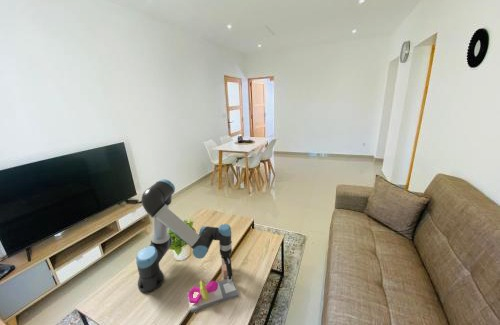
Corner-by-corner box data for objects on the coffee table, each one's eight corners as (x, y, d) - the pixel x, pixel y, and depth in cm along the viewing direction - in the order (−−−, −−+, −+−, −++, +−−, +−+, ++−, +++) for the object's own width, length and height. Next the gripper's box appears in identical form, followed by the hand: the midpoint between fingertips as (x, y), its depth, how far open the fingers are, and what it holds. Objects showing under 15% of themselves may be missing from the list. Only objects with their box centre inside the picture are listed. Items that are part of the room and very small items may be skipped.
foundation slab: (190, 313, 117) (189, 311, 117) (187, 293, 128) (187, 291, 128) (238, 296, 127) (238, 294, 127) (232, 278, 139) (232, 277, 138)
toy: (189, 290, 129) (184, 286, 121) (217, 277, 132) (213, 272, 125) (193, 309, 122) (187, 306, 115) (222, 294, 126) (218, 290, 118)
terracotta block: (223, 279, 138) (223, 271, 136) (221, 273, 142) (221, 265, 140) (231, 277, 140) (230, 269, 137) (228, 271, 144) (228, 263, 142)
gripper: (237, 259, 124) (238, 287, 131) (226, 234, 146) (226, 258, 153) (225, 263, 121) (226, 291, 128) (215, 236, 143) (216, 261, 150)
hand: (226, 273), depth 141 cm, fingers open, 13 cm apart
